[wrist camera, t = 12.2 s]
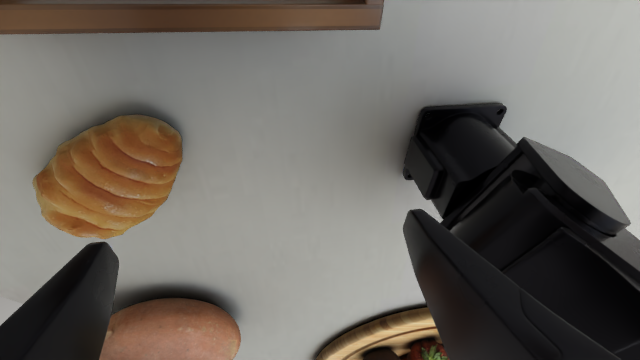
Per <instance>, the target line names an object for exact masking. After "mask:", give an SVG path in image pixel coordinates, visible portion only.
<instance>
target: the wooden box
mask: <svg viewBox="0 0 640 360" xmlns="http://www.w3.org/2000/svg"><path fill="white" fill-rule="evenodd" d="M383 4H384V0H0V34H72V33H151V32H231V31H310V30H379V29H380V25H381V18H382V12H383V6H384V5H383Z"/></svg>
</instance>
